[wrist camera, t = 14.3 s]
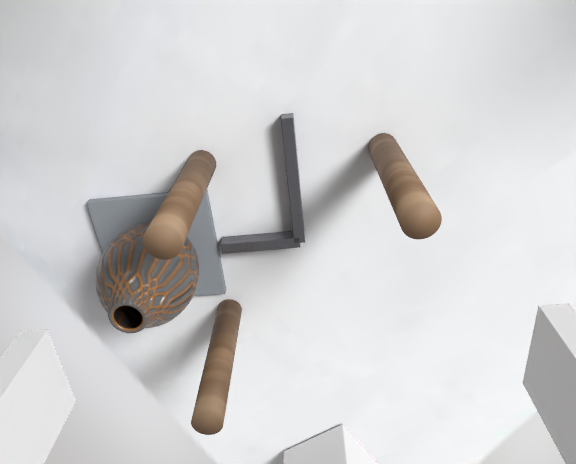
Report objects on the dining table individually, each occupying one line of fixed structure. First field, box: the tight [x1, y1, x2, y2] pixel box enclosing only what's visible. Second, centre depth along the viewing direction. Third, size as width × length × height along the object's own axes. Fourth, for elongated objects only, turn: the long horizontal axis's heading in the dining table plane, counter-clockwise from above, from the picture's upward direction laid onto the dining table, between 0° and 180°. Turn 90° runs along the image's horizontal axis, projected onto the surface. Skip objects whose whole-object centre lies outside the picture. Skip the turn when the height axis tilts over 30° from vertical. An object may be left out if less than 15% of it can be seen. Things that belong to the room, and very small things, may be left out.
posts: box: [143, 133, 442, 435], centre depth 33 cm, size 15×15×12 cm
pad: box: [87, 190, 226, 296], centre depth 39 cm, size 9×9×1 cm
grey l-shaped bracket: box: [221, 113, 305, 254], centre depth 36 cm, size 10×6×1 cm, turn 6°
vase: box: [96, 222, 199, 333], centre depth 34 cm, size 7×7×9 cm
